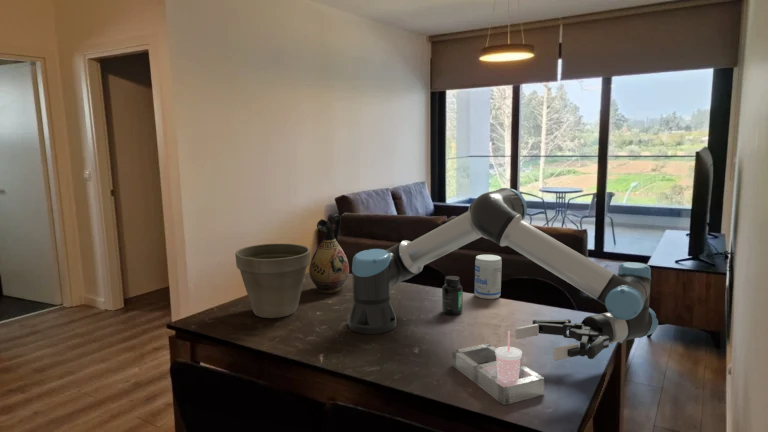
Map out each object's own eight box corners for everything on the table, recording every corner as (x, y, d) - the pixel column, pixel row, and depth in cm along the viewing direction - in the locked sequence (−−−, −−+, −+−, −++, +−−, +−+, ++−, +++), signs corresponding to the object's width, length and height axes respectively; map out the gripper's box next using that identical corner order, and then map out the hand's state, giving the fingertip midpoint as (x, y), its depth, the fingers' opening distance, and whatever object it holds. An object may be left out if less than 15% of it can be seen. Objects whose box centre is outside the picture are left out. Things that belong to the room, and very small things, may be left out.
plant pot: (327, 309, 177) (325, 248, 174) (269, 330, 158) (266, 262, 155) (281, 296, 193) (279, 240, 190) (224, 313, 174) (220, 251, 171)
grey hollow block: (452, 365, 131) (452, 350, 130) (488, 357, 135) (488, 343, 135) (503, 405, 111) (503, 387, 110) (543, 394, 115) (544, 378, 115)
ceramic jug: (333, 298, 189) (330, 218, 185) (302, 291, 198) (298, 215, 193) (359, 286, 203) (357, 212, 199) (329, 281, 212) (327, 210, 207)
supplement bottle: (465, 314, 169) (465, 279, 167) (446, 316, 167) (446, 281, 166) (457, 308, 176) (458, 274, 174) (439, 309, 174) (439, 275, 172)
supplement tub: (469, 296, 188) (470, 257, 186) (482, 290, 195) (482, 253, 193) (493, 301, 182) (493, 261, 180) (505, 295, 189) (506, 256, 187)
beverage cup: (493, 381, 122) (493, 325, 120) (519, 382, 121) (520, 326, 119) (496, 394, 116) (496, 335, 114) (523, 395, 115) (524, 336, 113)
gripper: (644, 362, 117) (572, 381, 109) (567, 327, 139) (502, 340, 131) (646, 331, 115) (573, 347, 107) (568, 300, 138) (502, 312, 130)
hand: (534, 343), depth 119 cm, fingers open, 13 cm apart
